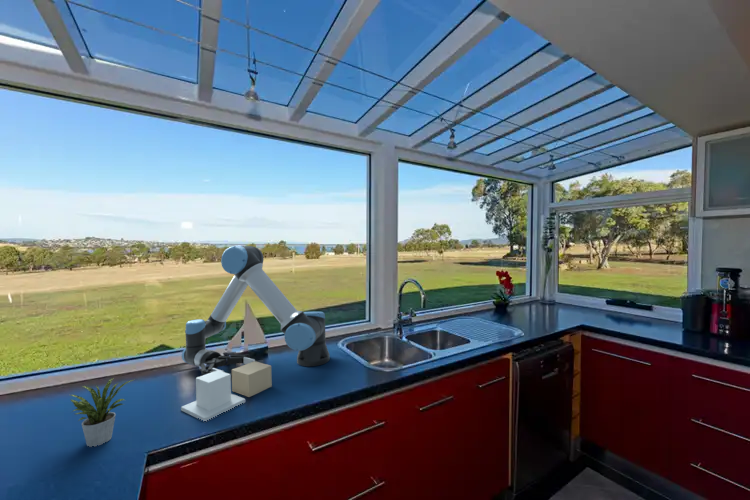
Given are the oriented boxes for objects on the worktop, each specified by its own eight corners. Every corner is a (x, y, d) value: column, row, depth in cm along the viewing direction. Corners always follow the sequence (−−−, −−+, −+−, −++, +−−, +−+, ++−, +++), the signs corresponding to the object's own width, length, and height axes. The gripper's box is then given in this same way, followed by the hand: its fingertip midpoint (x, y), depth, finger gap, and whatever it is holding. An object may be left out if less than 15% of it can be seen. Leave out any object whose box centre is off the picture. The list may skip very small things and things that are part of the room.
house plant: (129, 418, 97) (128, 367, 97) (142, 434, 88) (141, 378, 88) (66, 441, 86) (64, 382, 86) (73, 462, 77) (72, 397, 77)
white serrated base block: (221, 393, 114) (220, 365, 114) (245, 402, 106) (244, 372, 106) (181, 410, 102) (180, 379, 102) (205, 422, 94) (204, 388, 94)
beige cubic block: (254, 381, 124) (254, 361, 124) (271, 386, 118) (271, 365, 118) (232, 391, 115) (231, 369, 115) (249, 397, 110) (248, 374, 110)
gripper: (235, 359, 142) (265, 367, 131) (177, 379, 121) (208, 391, 110) (234, 343, 142) (265, 350, 131) (177, 360, 121) (207, 370, 110)
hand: (239, 368), depth 120 cm, fingers open, 13 cm apart
